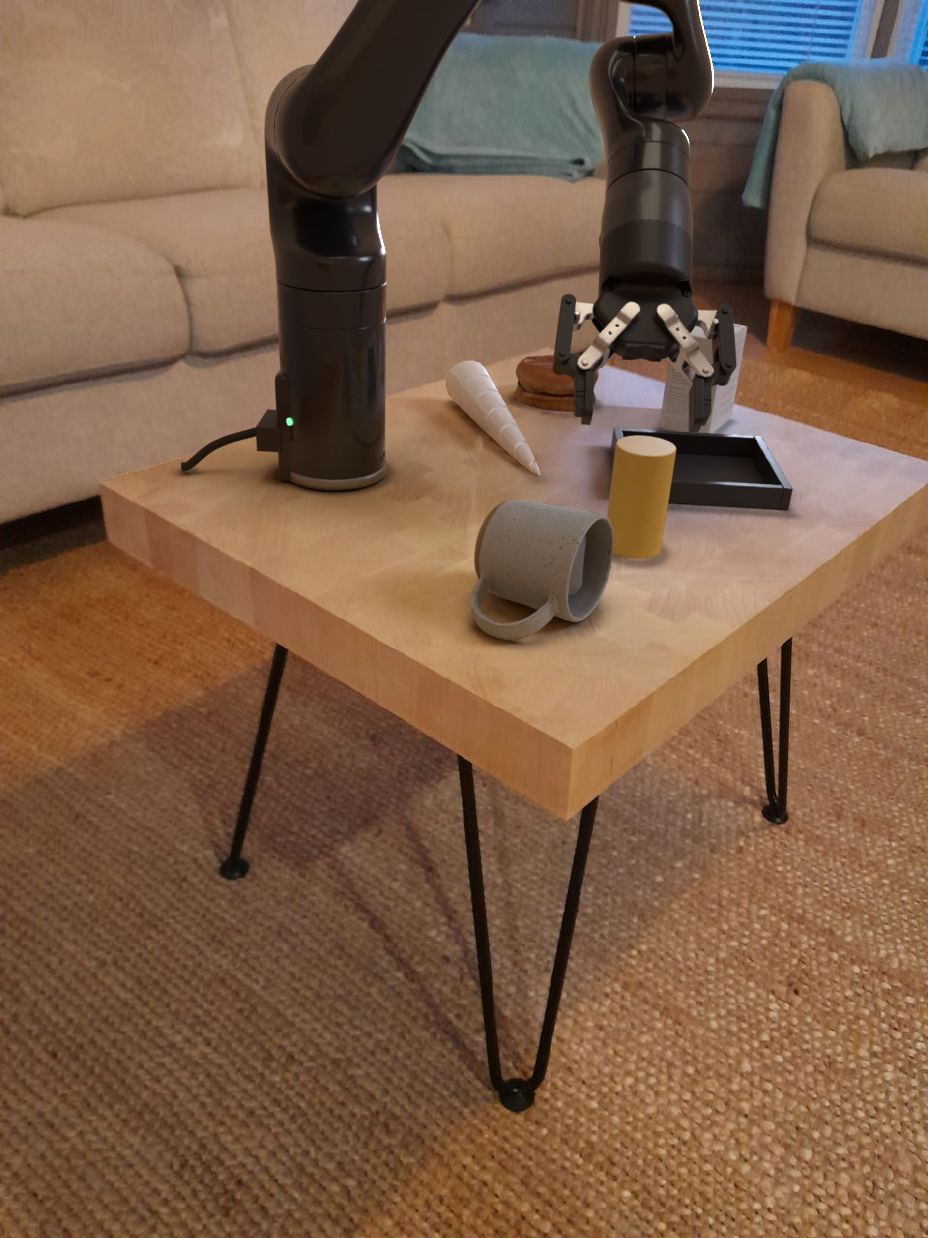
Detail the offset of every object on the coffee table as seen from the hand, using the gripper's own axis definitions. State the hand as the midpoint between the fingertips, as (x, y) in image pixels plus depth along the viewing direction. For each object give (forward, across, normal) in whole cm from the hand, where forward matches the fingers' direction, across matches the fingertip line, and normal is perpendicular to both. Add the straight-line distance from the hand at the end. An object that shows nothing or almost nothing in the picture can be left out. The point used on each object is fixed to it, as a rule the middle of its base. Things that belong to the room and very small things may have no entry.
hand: (641, 424), depth 82 cm
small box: (-14, +10, +28) cm, 33 cm away
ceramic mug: (+16, -8, -2) cm, 18 cm away
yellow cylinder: (+9, 0, +5) cm, 10 cm away
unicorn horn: (-10, -11, +24) cm, 28 cm away
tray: (-3, +8, +17) cm, 19 cm away
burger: (-18, -5, +32) cm, 37 cm away
